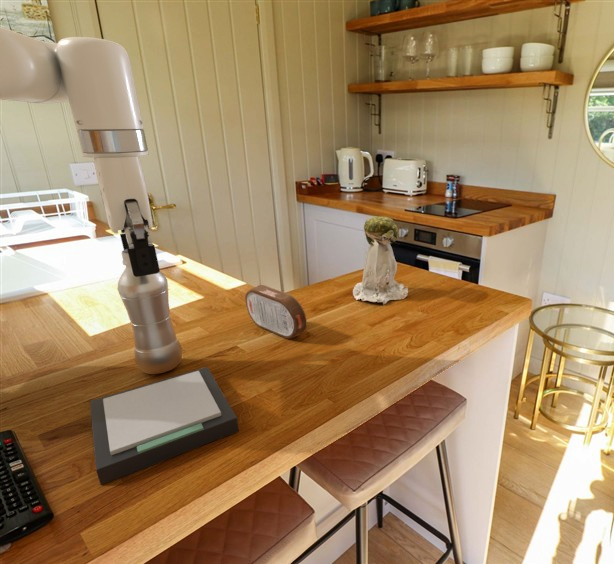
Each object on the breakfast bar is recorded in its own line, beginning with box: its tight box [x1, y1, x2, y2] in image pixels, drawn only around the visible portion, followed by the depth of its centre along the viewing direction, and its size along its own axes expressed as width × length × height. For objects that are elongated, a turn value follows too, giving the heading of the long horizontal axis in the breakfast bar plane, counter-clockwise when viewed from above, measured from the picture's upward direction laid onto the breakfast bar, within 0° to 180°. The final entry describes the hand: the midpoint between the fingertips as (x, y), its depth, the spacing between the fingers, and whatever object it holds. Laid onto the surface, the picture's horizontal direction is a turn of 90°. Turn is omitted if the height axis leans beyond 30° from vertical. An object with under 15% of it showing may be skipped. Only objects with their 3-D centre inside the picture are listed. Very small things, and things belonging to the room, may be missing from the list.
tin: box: [244, 284, 307, 340], centre depth 80 cm, size 15×3×8 cm, turn 54°
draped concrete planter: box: [352, 215, 409, 305], centre depth 97 cm, size 12×13×18 cm
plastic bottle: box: [116, 249, 183, 375], centre depth 65 cm, size 6×7×20 cm
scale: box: [89, 366, 239, 486], centre depth 56 cm, size 15×15×3 cm
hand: (142, 265), depth 63 cm, fingers open, 9 cm apart
